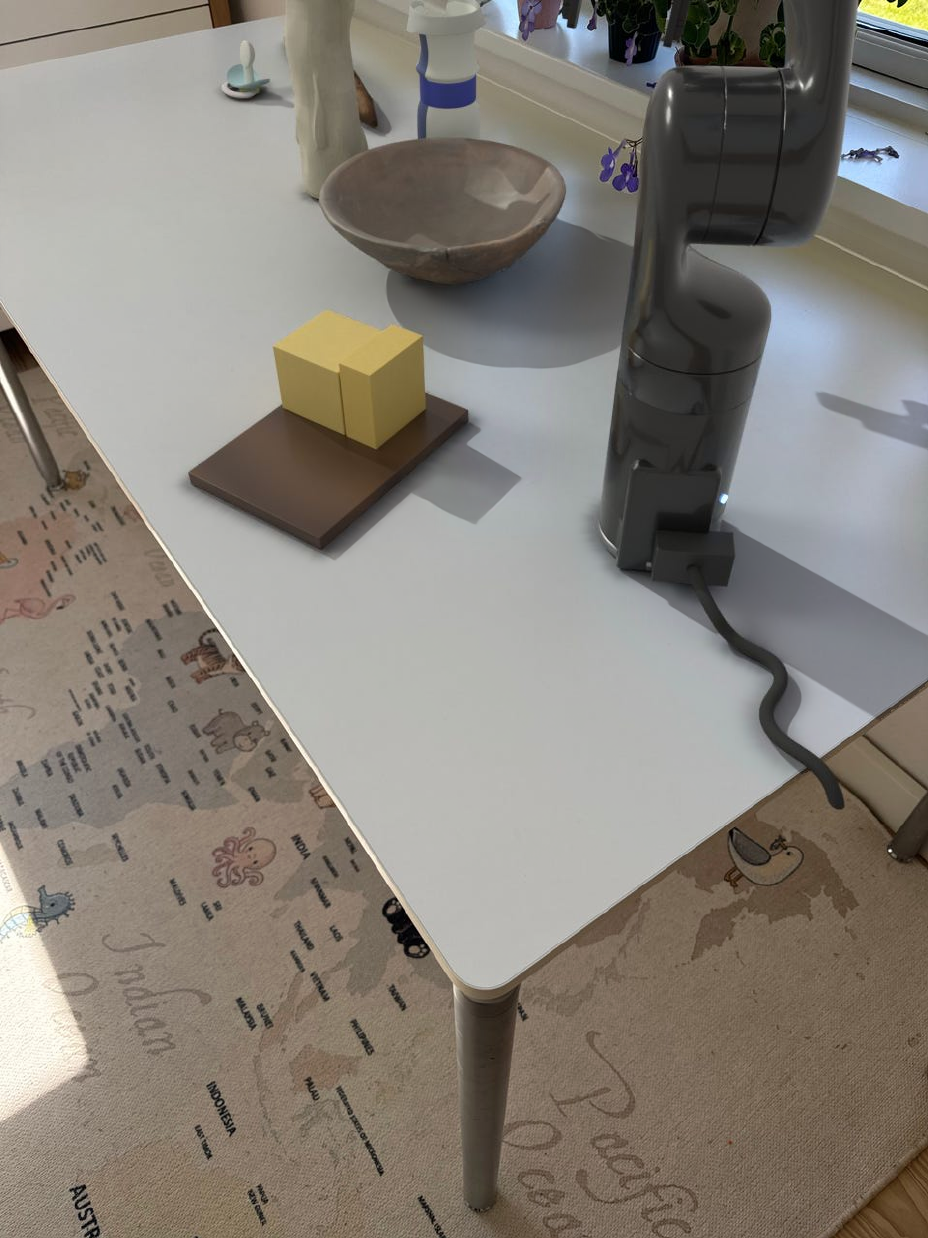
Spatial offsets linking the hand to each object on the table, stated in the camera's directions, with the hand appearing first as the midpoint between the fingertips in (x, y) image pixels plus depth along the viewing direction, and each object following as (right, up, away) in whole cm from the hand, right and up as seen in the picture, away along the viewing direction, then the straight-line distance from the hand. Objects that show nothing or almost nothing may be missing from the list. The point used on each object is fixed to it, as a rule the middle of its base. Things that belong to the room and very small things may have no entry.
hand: (619, 36), depth 88 cm
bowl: (-16, -13, +19) cm, 28 cm away
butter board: (-25, -37, -2) cm, 44 cm away
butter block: (-25, -32, 0) cm, 40 cm away
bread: (-33, +25, +54) cm, 68 cm away
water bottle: (-16, 0, +32) cm, 35 cm away
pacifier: (-44, +23, +53) cm, 72 cm away
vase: (-29, 0, +31) cm, 43 cm away
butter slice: (-20, -34, -2) cm, 40 cm away
